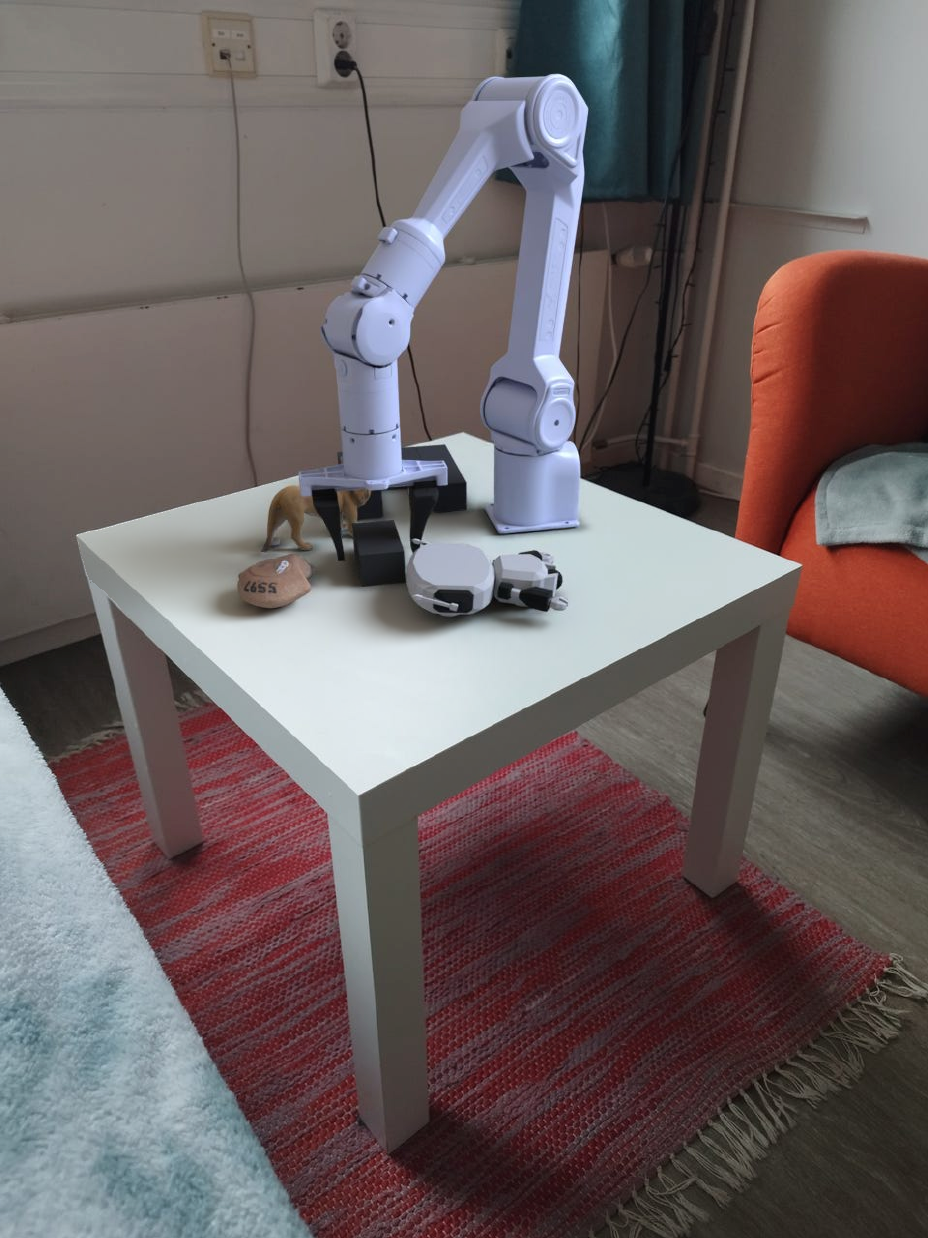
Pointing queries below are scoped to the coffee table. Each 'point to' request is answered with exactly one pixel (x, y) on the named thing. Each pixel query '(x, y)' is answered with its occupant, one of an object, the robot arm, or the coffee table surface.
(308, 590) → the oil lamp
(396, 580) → the black block
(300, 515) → the lion figurine
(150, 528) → the coffee table surface
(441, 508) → the notched pad
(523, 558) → the robot toy
